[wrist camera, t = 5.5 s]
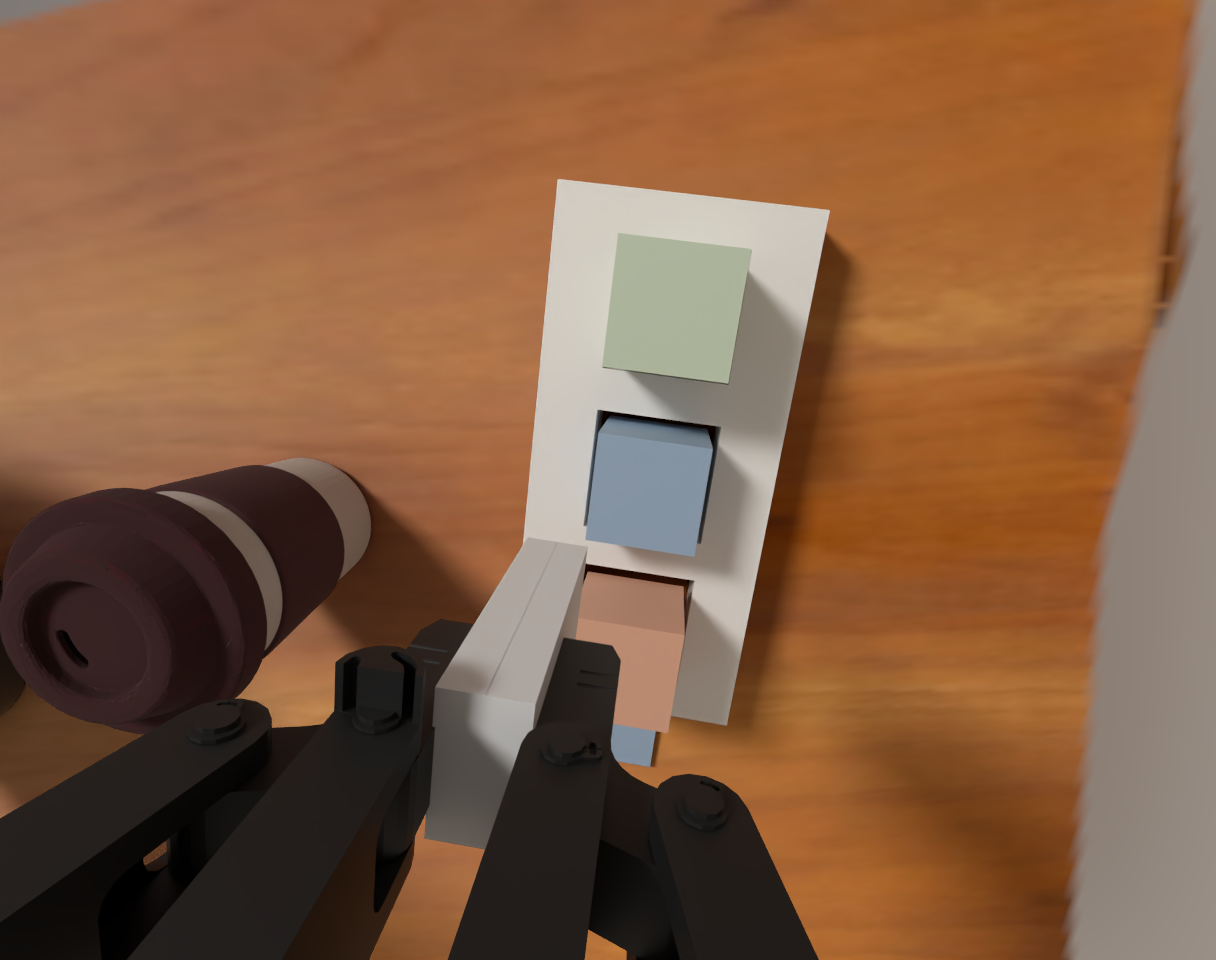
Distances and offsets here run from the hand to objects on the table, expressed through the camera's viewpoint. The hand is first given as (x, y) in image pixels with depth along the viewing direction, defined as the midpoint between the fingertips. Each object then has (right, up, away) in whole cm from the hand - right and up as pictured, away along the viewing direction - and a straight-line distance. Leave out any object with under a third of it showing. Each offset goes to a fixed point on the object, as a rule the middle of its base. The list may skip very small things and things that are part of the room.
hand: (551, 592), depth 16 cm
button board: (+4, +4, +18) cm, 19 cm away
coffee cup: (-16, +1, +21) cm, 27 cm away
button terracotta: (+3, -5, +18) cm, 18 cm away
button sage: (+5, +11, +14) cm, 18 cm away
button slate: (+4, +3, +17) cm, 18 cm away
